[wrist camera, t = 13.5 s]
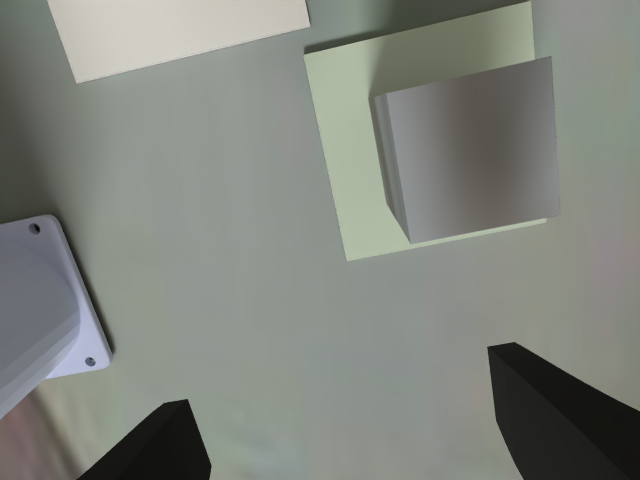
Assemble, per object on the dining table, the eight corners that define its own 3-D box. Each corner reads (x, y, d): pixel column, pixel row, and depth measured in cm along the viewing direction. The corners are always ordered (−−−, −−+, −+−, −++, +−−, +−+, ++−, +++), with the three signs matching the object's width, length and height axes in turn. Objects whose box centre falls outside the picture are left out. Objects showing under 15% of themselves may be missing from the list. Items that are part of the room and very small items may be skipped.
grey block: (386, 203, 19) (411, 244, 13) (368, 99, 18) (386, 93, 12) (489, 182, 19) (560, 215, 13) (478, 74, 17) (551, 56, 12)
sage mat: (346, 259, 20) (346, 261, 20) (303, 56, 18) (303, 55, 17) (542, 220, 19) (546, 222, 19) (527, 2, 17) (531, 0, 16)
